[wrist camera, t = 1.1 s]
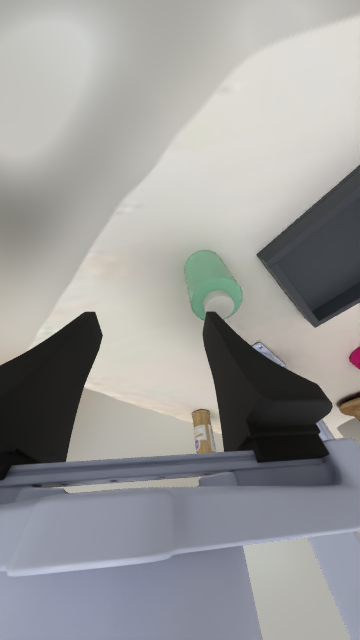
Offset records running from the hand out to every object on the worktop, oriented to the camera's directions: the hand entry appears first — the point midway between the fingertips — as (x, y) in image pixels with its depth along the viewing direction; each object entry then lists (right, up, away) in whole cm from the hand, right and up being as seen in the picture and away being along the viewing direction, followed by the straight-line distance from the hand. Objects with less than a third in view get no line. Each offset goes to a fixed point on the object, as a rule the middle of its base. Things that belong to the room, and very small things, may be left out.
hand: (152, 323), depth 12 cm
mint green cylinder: (+4, +6, +9) cm, 11 cm away
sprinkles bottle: (+7, -23, +33) cm, 41 cm away
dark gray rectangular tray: (+19, +8, +9) cm, 22 cm away
